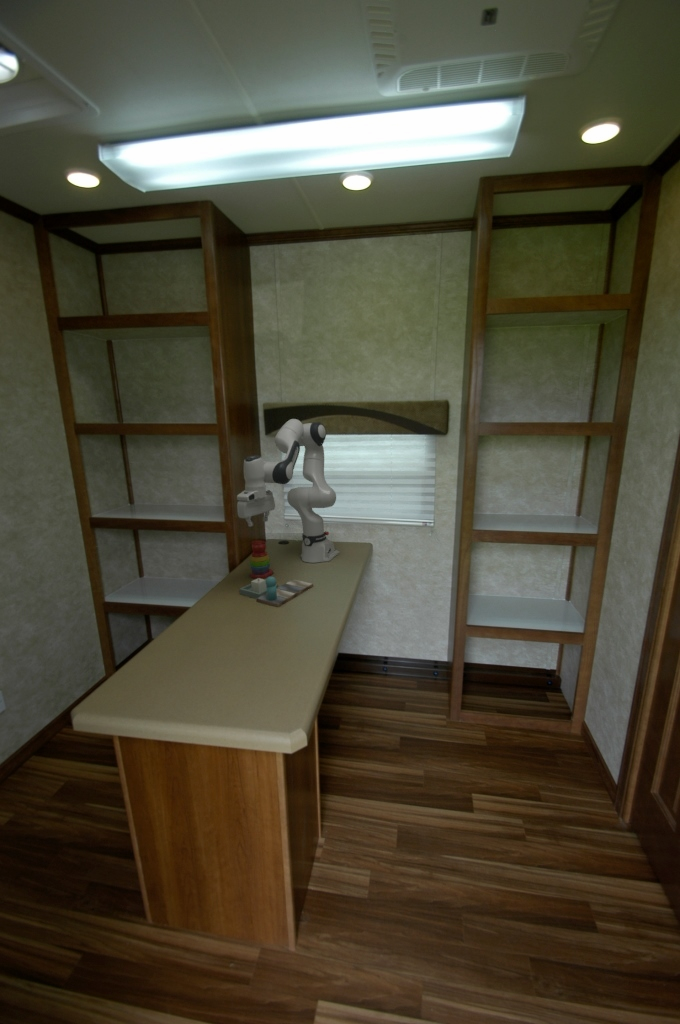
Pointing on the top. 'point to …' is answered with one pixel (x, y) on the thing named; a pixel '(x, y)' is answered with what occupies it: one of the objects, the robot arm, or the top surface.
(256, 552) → the stacking bear
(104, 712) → the top surface
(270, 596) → the pawn
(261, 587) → the die
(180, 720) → the top surface
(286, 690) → the top surface
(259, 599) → the board
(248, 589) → the tray
